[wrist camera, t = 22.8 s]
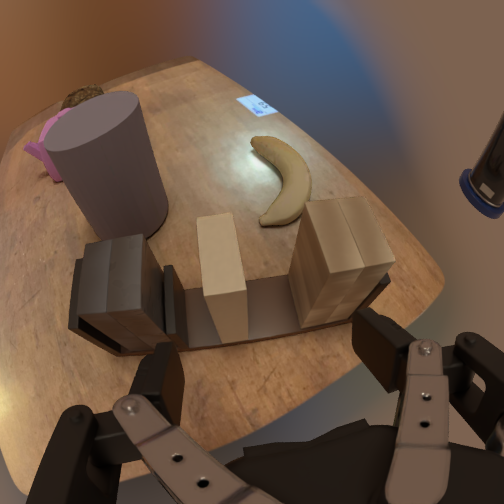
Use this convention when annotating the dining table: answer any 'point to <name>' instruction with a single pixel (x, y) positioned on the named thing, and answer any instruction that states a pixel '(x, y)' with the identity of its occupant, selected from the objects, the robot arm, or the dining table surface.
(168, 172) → the dining table surface
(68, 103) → the bread roll
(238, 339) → the cream book
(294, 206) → the fruit
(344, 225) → the book rack
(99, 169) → the grey upright cylinder
